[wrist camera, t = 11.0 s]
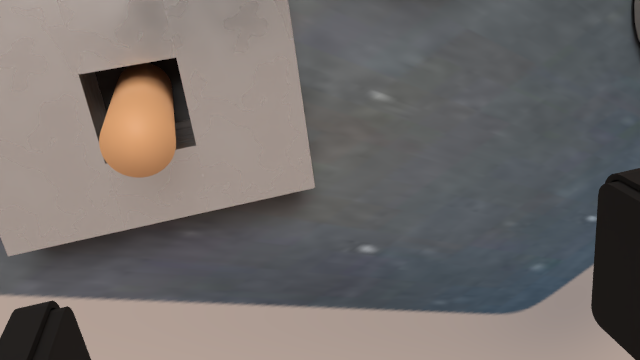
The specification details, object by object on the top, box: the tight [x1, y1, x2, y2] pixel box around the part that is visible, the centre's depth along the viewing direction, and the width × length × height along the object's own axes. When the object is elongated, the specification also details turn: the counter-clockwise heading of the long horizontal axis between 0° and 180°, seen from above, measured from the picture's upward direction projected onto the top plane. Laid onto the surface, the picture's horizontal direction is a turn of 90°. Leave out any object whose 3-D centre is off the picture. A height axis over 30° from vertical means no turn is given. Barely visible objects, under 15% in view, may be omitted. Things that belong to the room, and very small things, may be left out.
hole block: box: [0, 0, 315, 256], centre depth 30 cm, size 16×12×5 cm
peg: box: [99, 63, 176, 178], centre depth 28 cm, size 3×3×10 cm
